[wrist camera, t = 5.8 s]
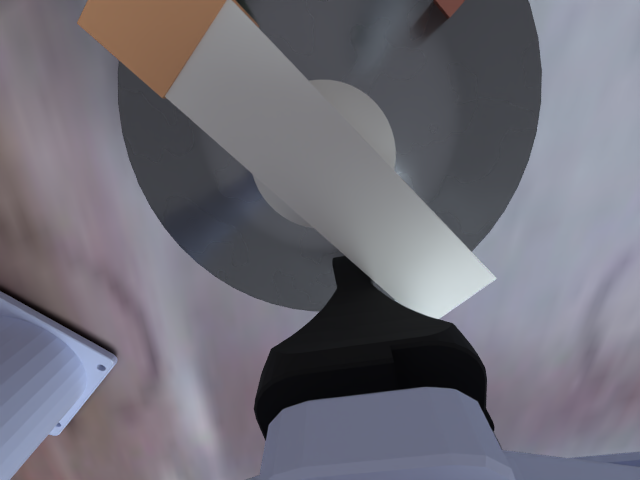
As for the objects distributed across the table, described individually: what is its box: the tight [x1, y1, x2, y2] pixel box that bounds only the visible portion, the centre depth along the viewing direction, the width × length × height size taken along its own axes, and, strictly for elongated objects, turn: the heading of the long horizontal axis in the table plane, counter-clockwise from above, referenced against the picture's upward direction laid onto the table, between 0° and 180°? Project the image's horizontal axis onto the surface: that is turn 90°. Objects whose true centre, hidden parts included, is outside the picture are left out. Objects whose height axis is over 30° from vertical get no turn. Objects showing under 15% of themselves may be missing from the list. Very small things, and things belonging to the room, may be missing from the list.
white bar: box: [77, 0, 497, 319], centre depth 9 cm, size 11×4×4 cm, turn 47°
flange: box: [118, 0, 542, 311], centre depth 12 cm, size 15×15×2 cm
